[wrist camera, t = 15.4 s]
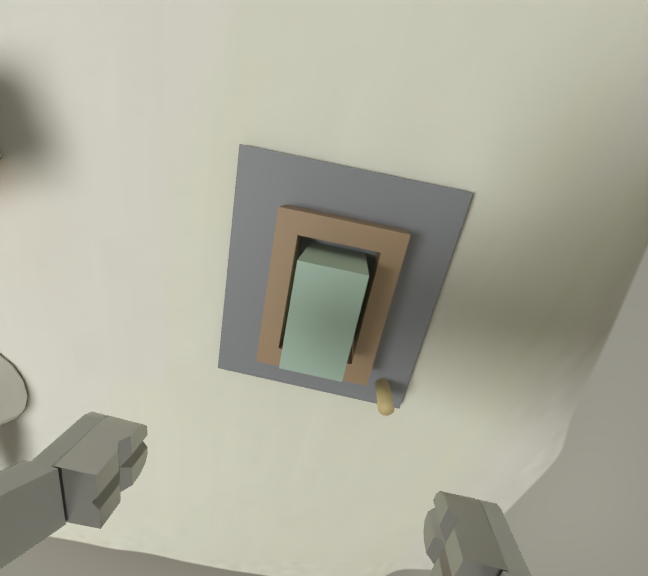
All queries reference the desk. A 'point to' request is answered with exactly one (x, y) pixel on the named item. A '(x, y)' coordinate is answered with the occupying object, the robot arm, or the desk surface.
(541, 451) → the desk surface
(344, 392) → the keyed plate
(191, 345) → the desk surface
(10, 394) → the inkwell
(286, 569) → the desk surface
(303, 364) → the sage block
